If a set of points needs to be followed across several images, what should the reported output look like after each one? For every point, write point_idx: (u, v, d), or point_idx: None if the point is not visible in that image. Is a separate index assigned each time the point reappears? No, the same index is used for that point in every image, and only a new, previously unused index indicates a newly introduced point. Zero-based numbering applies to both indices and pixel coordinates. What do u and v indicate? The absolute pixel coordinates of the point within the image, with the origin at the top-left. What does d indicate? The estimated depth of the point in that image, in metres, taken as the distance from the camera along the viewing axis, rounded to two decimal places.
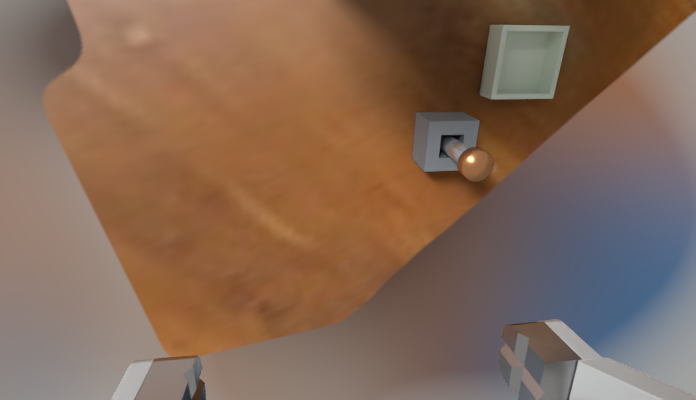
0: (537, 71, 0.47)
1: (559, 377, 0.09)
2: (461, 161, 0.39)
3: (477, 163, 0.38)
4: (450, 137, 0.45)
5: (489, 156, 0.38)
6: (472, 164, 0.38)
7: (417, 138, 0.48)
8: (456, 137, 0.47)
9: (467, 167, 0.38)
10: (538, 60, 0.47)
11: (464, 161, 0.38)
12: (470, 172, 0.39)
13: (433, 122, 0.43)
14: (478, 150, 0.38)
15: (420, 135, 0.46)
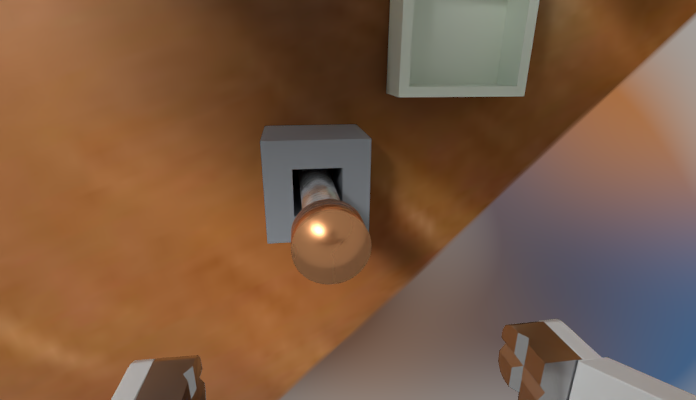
0: (493, 47, 0.25)
1: (559, 377, 0.09)
2: (291, 236, 0.16)
3: (327, 241, 0.15)
4: (315, 173, 0.22)
5: (357, 223, 0.15)
6: (314, 244, 0.15)
7: None
8: (337, 173, 0.24)
9: (302, 251, 0.15)
10: (493, 26, 0.24)
11: (293, 236, 0.15)
12: (313, 263, 0.15)
13: (269, 142, 0.20)
14: (328, 208, 0.15)
15: None
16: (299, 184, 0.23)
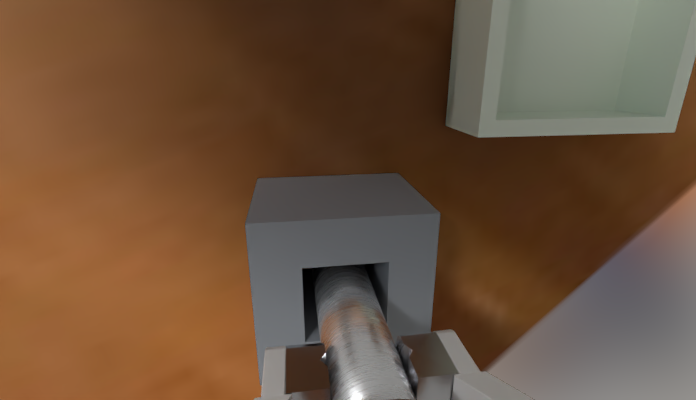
0: (614, 54, 0.16)
1: (436, 392, 0.09)
2: None
3: None
4: (341, 270, 0.13)
5: None
6: None
7: None
8: None
9: None
10: (617, 22, 0.15)
11: None
12: None
13: (262, 225, 0.11)
14: None
15: None
16: (313, 280, 0.14)
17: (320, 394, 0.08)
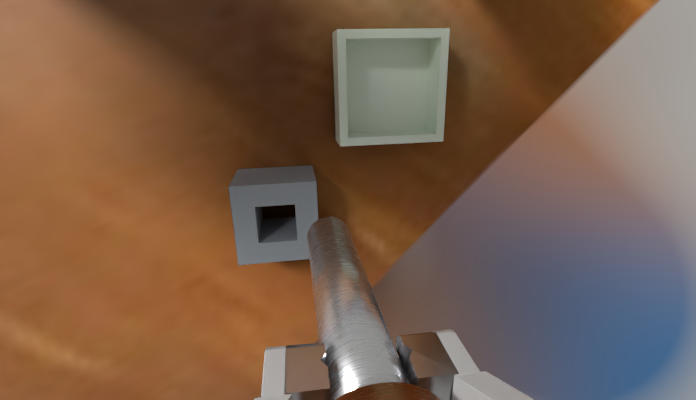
0: (419, 101, 0.31)
1: (436, 392, 0.09)
2: None
3: None
4: (339, 265, 0.13)
5: None
6: None
7: None
8: None
9: None
10: (418, 85, 0.30)
11: None
12: None
13: (236, 187, 0.26)
14: None
15: None
16: None
17: (319, 394, 0.08)
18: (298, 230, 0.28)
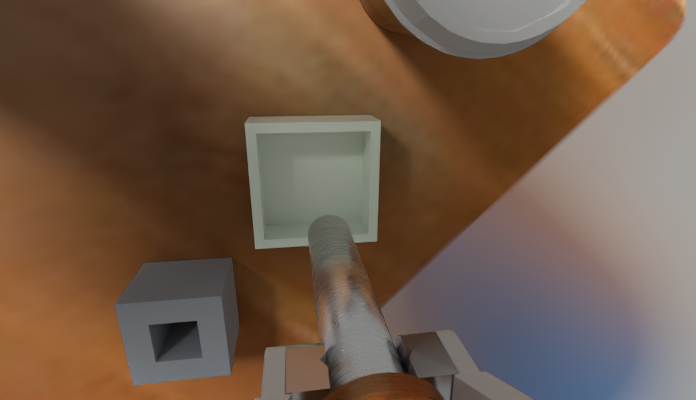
0: (354, 190, 0.27)
1: None
2: None
3: None
4: (339, 262, 0.13)
5: None
6: None
7: None
8: None
9: None
10: (352, 173, 0.27)
11: None
12: None
13: (123, 304, 0.22)
14: None
15: None
16: (312, 272, 0.15)
17: (320, 394, 0.08)
18: (203, 347, 0.24)
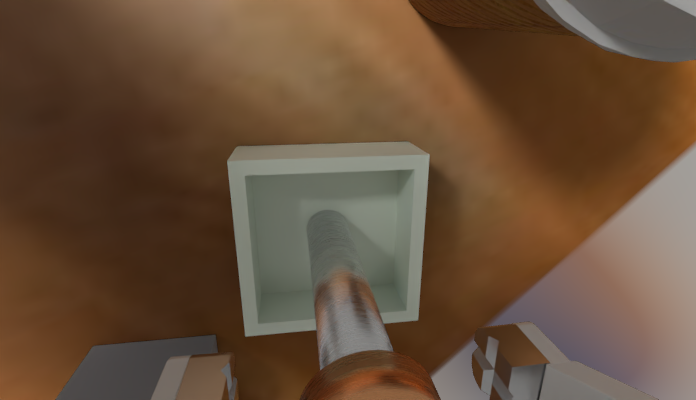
0: (383, 245, 0.19)
1: (527, 381, 0.09)
2: None
3: None
4: (335, 253, 0.14)
5: None
6: None
7: None
8: None
9: None
10: (381, 223, 0.19)
11: None
12: None
13: None
14: (376, 392, 0.07)
15: None
16: (310, 263, 0.15)
17: None
18: None
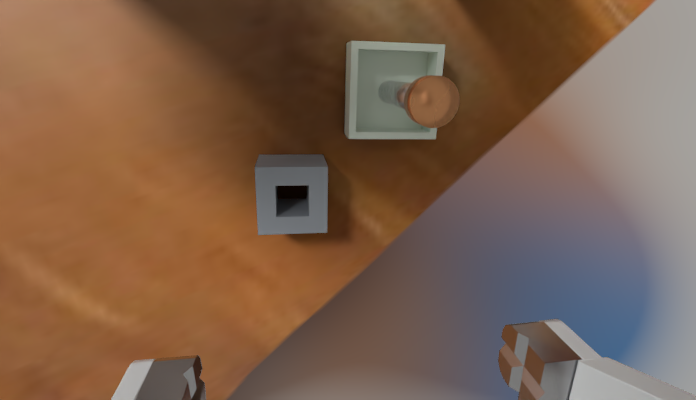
0: None
1: (559, 377, 0.09)
2: (408, 95, 0.24)
3: (433, 96, 0.24)
4: (402, 82, 0.31)
5: (452, 85, 0.24)
6: (425, 97, 0.24)
7: None
8: None
9: (417, 102, 0.24)
10: None
11: (411, 92, 0.24)
12: (423, 111, 0.24)
13: (261, 168, 0.31)
14: None
15: None
16: (387, 93, 0.32)
17: None
18: (310, 207, 0.33)
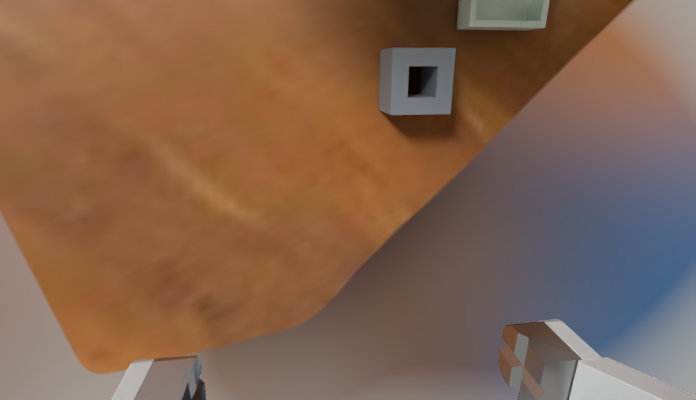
0: None
1: (559, 377, 0.09)
2: None
3: None
4: None
5: None
6: None
7: (382, 80, 0.39)
8: (429, 76, 0.38)
9: None
10: None
11: None
12: None
13: (398, 48, 0.35)
14: None
15: (385, 73, 0.38)
16: None
17: None
18: (437, 88, 0.37)
